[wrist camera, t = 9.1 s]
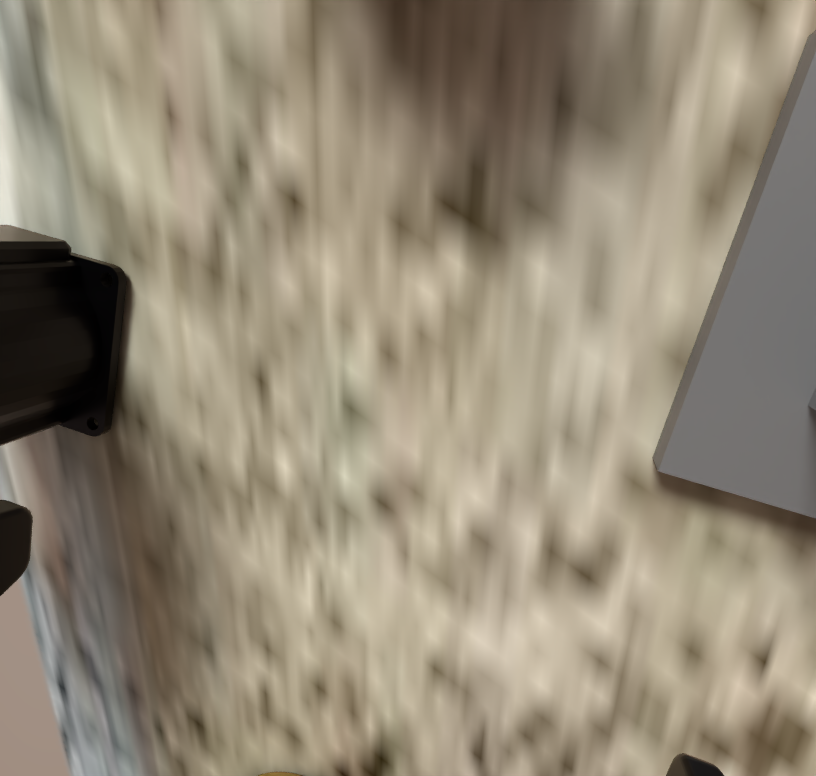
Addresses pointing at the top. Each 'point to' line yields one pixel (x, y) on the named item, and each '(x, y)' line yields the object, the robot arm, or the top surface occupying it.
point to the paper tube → (279, 774)
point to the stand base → (760, 334)
